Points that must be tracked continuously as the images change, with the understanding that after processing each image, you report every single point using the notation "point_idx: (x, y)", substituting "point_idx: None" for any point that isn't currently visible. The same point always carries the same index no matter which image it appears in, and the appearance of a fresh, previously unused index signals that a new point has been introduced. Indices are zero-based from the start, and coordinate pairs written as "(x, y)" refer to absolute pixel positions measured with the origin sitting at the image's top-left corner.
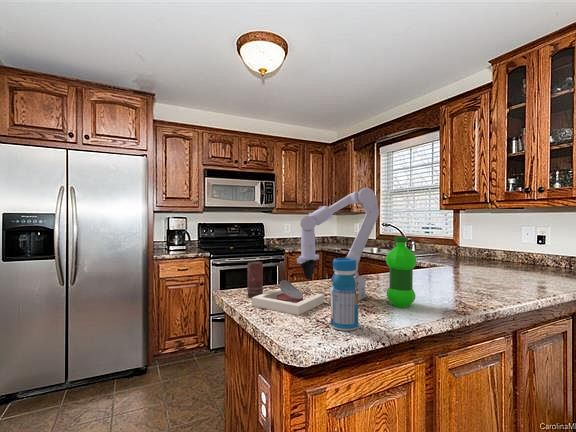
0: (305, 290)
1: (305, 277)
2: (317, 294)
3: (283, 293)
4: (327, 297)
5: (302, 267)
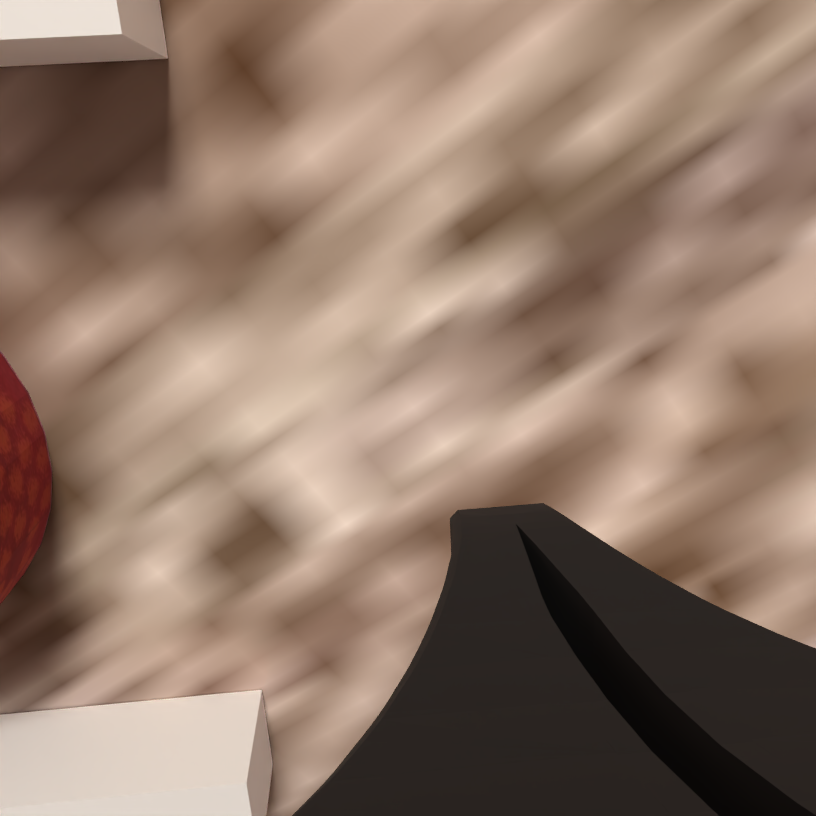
0: (781, 122)
1: (454, 533)
2: (179, 802)
3: (42, 52)
4: None
5: (378, 740)
